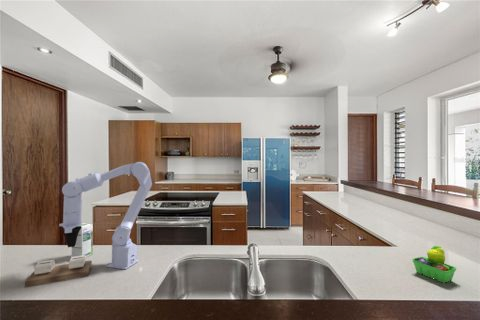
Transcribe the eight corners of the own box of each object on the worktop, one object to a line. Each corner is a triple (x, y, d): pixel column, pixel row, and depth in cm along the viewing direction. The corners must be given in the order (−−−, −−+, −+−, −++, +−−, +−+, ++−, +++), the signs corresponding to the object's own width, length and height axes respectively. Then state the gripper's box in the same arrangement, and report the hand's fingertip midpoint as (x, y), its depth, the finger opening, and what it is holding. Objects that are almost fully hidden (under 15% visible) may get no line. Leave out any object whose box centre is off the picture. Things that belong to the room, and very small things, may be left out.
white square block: (85, 261, 90) (85, 254, 90) (83, 266, 86) (83, 259, 86) (71, 263, 88) (71, 256, 88) (68, 268, 84) (68, 261, 84)
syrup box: (81, 259, 98) (82, 226, 98) (70, 258, 99) (71, 225, 100) (92, 254, 104) (93, 223, 104) (82, 253, 105) (82, 222, 105)
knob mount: (91, 265, 93) (91, 255, 93) (87, 275, 84) (87, 265, 84) (35, 274, 85) (35, 263, 85) (24, 287, 76) (24, 275, 76)
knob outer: (54, 266, 85) (54, 259, 86) (50, 271, 81) (50, 264, 81) (39, 269, 83) (39, 261, 83) (34, 274, 79) (34, 266, 79)
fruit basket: (411, 271, 89) (410, 243, 90) (424, 267, 93) (423, 240, 93) (446, 286, 79) (446, 254, 79) (459, 281, 82) (459, 250, 83)
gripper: (64, 209, 92) (63, 242, 92) (54, 216, 80) (53, 255, 79) (84, 207, 96) (84, 239, 95) (78, 215, 83) (77, 251, 83)
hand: (71, 246), depth 88 cm, fingers closed
